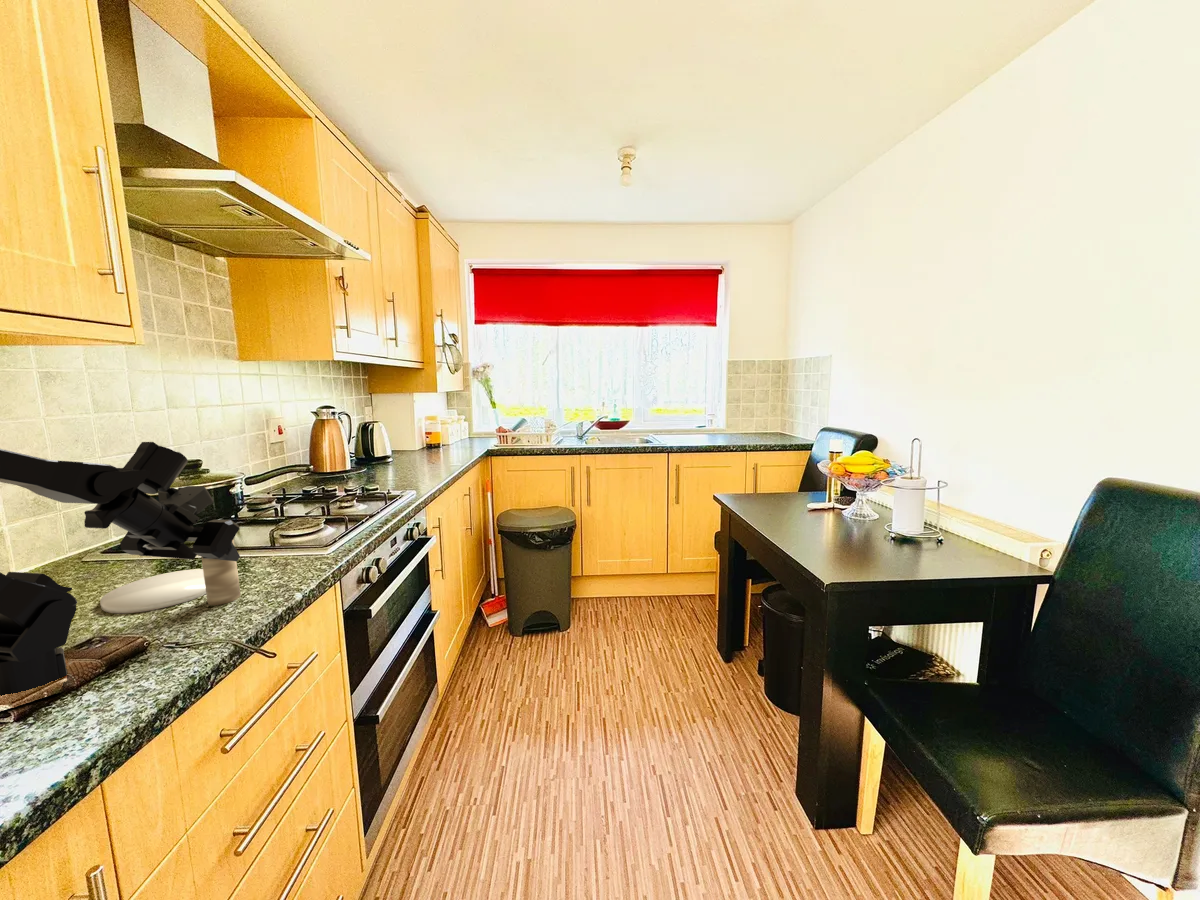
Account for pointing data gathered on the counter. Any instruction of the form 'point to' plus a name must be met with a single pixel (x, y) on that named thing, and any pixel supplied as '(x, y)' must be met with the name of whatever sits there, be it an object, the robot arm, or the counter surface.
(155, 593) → the plate
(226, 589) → the pepper mill
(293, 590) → the counter surface
